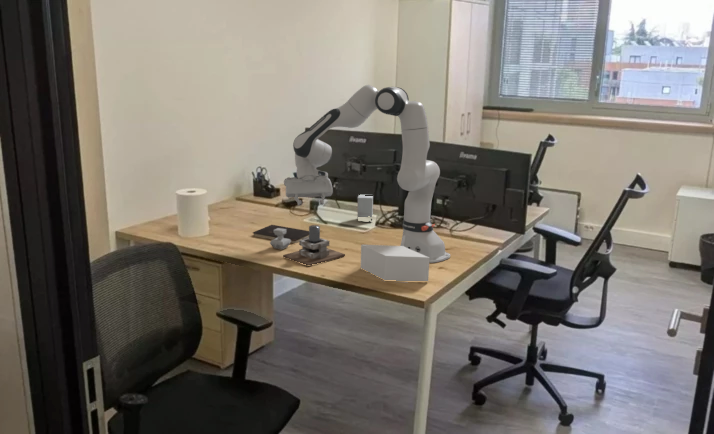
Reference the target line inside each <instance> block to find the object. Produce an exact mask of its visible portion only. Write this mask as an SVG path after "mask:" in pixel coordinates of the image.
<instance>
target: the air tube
mask: <svg viewBox="0 0 714 434" xmlns="http://www.w3.org/2000/svg"><path fill="white" fill-rule="evenodd" d="M308 231H309V243H312V244H316V243H319V242H320V238H321V226H320V225H316V224H311V225H309V226H308ZM309 252H311V253H317V252H319V249H315V250H312V249H309Z"/></svg>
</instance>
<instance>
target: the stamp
mask: <svg viewBox="0 0 714 434" xmlns="http://www.w3.org/2000/svg"><path fill="white" fill-rule="evenodd" d="M273 231H274V233H275V235H277V236H278V238H275V239H270V242H269V244H270V246H271V247H272V248H273V249H276V250H284V249H286V248H288V247H289V245H290V244H292V243H291V240H290V239H287V238H283V236H284V235H285V234H286V229H281V228H277V229H275V230H273Z"/></svg>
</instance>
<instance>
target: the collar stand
mask: <svg viewBox="0 0 714 434" xmlns="http://www.w3.org/2000/svg"><path fill="white" fill-rule="evenodd" d="M298 244H299V246H301V249H299V250H297V251H292V252H289V253H286V254H282V255H283V256H282V257H283V258H284V257H285V258H284V259H286V258H289V259H291V260H290V261H292V260H294V261H297V262H300V263H303V264H306V265H312V264H317V263H321V262H324V263H326V262H325V261H328V262H330V261H329V260H331V261H333V260H332V259H334V260H337V259H336V258H338V259H341V258H345V257H346V253H343V252H339V251H338V250H337V251H336V250H334V249H331V248H328V247H329V246H330V240H328V239H324V238H321V237H320V242H319V243H316V244H312V243H309V237H305V238H302V240H299V242H298ZM309 249H312V250H315V249H319V252H317V253H311V252H309ZM344 256H345V257H344ZM340 257H341V258H340ZM289 259H288V260H289ZM294 261H293V262H294ZM297 262H296V263H297ZM300 263H299V264H300ZM321 264H322V263H321ZM317 265H318V264H317Z"/></svg>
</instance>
